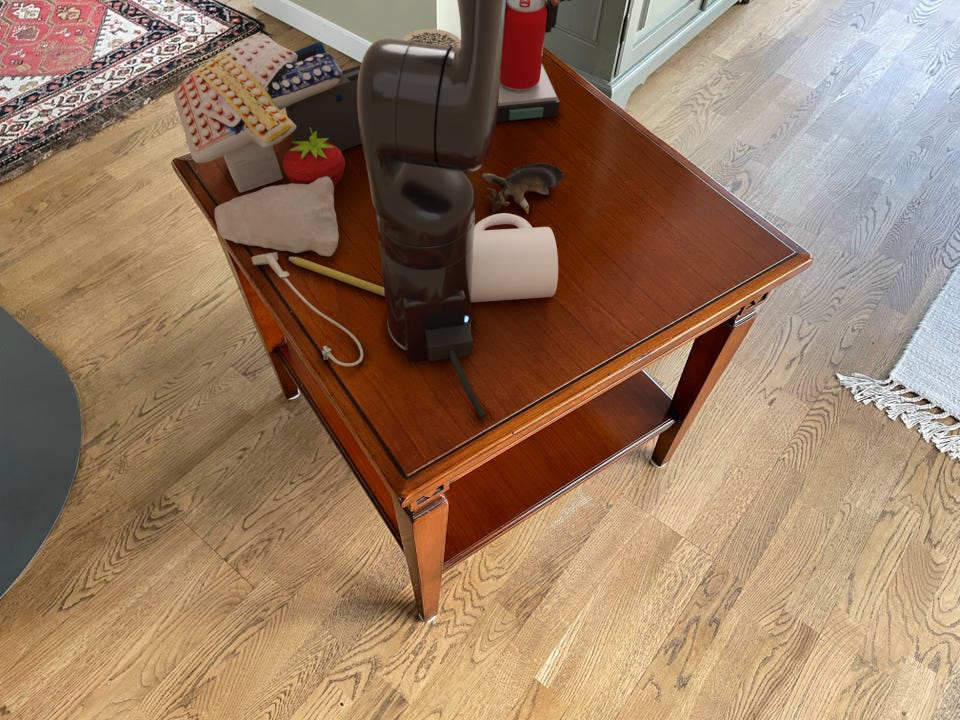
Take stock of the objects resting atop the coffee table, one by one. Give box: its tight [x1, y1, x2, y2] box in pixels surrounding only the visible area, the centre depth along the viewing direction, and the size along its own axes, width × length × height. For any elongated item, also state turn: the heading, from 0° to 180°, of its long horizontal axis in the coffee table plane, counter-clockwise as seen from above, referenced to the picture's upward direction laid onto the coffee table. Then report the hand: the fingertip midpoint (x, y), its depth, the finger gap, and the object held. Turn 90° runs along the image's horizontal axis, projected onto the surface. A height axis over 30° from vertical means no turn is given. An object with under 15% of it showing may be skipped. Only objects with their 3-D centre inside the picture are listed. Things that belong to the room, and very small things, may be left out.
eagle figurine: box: [481, 162, 566, 214], centre depth 90 cm, size 8×7×9 cm
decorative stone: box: [214, 176, 340, 257], centre depth 85 cm, size 10×4×15 cm
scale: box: [496, 63, 561, 123], centre depth 104 cm, size 10×10×3 cm
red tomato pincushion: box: [282, 128, 346, 188], centre depth 87 cm, size 6×8×10 cm
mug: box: [471, 212, 559, 303], centre depth 81 cm, size 12×10×8 cm
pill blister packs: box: [173, 33, 343, 164], centre depth 85 cm, size 21×6×15 cm
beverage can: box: [500, 0, 547, 91], centre depth 98 cm, size 6×6×12 cm
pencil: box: [285, 256, 385, 298], centre depth 83 cm, size 1×14×1 cm, turn 67°
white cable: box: [251, 251, 364, 368], centre depth 80 cm, size 5×3×20 cm
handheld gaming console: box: [285, 64, 362, 152], centre depth 95 cm, size 23×3×10 cm, turn 124°
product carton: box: [223, 142, 284, 194], centre depth 90 cm, size 6×6×7 cm
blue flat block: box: [293, 41, 342, 102], centre depth 94 cm, size 7×14×1 cm
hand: (522, 31), depth 96 cm, fingers closed on beverage can, 6 cm apart
